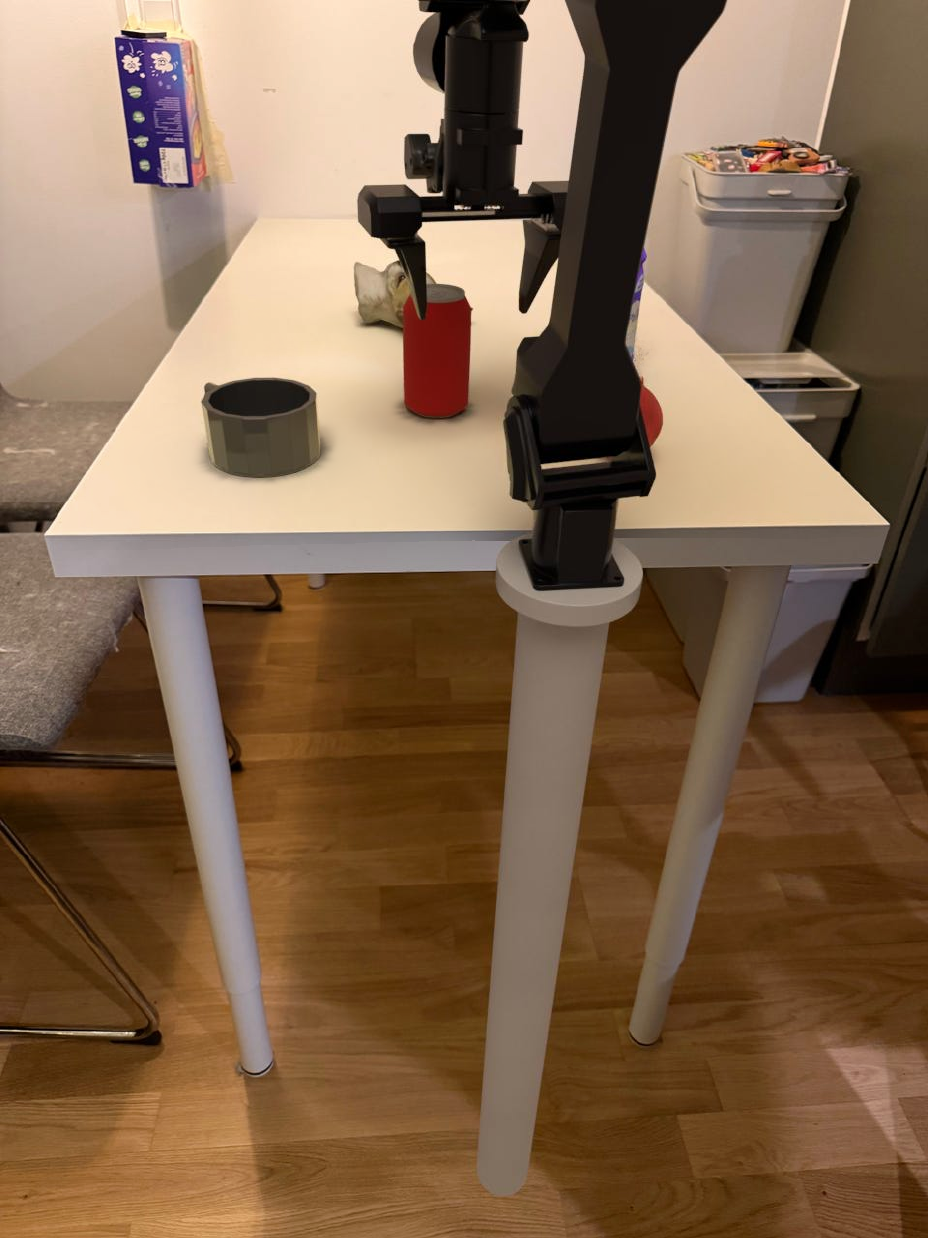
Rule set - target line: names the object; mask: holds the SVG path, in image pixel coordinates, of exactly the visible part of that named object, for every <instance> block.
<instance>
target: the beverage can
mask: <svg viewBox="0 0 928 1238" xmlns="http://www.w3.org/2000/svg"><path fill="white" fill-rule="evenodd" d="M471 308H472V306H471V305H470V303H469V301H468V299H467V296H466V291H465V289H463V288H462V287H460V286H457V285H452V284H448V283H447V284H446V283H437V284H427V310H426V318H425V320H420V318H419V317H418V315H417V312H416V308H415V305H414V302H413V299H412V296H411V292H410V294H409V296H408V298H407V300H406V302H405V304H404V306H403V328H402V363H403V365H402V366H403V367H402V369H403V403H404V405H405V406H406V408H408V409H409V410H411V411H413V412H414V413H415V414H416V415H418V416H421V417H425V418H430V419H443V418H450V417H453V416H455V415H457V414H458V413H459V412H461V411H463V410H464V409H466V408H467V407H468V405H469V399H470V398H469V397H470V395H469V394H470V376H471V375H470V373H471V372H470V371H471V370H470V369H471V367H470V366H471V344H472V343H471V339H472V311H471Z"/></svg>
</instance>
